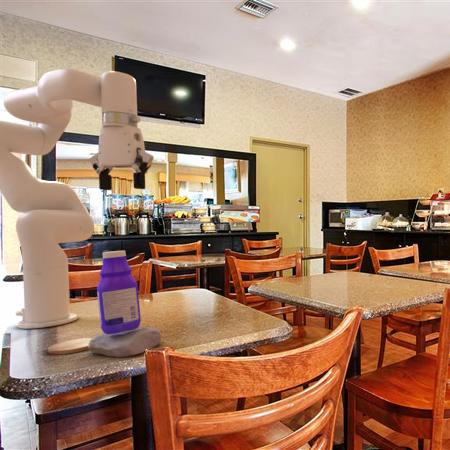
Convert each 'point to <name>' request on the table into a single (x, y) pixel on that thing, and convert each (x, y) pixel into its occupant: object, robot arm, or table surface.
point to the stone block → (125, 342)
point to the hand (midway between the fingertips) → (122, 189)
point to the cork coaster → (70, 346)
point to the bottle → (117, 295)
